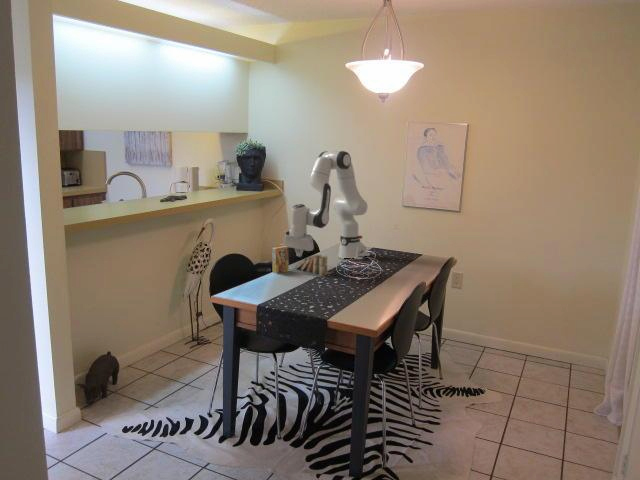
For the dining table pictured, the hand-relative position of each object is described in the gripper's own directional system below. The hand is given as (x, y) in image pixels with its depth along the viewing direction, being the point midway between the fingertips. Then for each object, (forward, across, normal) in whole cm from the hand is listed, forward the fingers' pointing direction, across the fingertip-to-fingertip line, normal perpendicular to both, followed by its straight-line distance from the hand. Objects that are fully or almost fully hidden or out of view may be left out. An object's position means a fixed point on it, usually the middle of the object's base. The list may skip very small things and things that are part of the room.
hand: (299, 256), depth 298 cm
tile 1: (+7, +1, 0) cm, 7 cm away
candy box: (+9, +3, +12) cm, 15 cm away
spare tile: (+7, -9, 0) cm, 11 cm away
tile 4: (+7, -14, 0) cm, 16 cm away
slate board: (+9, -9, 0) cm, 12 cm away
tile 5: (+7, -19, 0) cm, 20 cm away
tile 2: (+7, -4, 0) cm, 8 cm away
